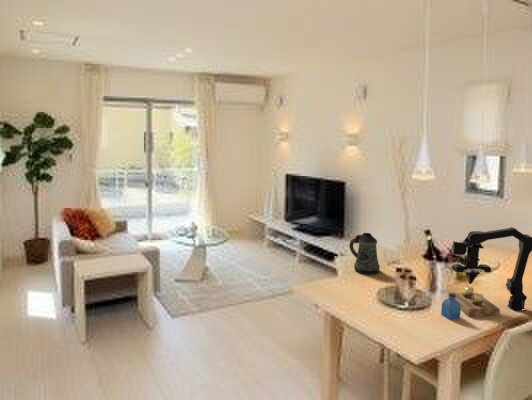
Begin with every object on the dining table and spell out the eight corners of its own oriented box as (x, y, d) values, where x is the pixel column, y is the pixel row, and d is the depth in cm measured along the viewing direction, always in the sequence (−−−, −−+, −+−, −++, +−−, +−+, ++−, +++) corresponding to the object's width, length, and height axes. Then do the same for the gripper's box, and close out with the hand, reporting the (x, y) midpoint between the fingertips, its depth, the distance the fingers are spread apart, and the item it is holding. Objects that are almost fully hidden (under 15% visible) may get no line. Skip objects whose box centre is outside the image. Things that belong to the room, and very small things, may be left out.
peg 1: (470, 293, 236) (471, 286, 235) (474, 296, 232) (474, 289, 231) (463, 293, 235) (463, 286, 235) (466, 296, 231) (467, 289, 231)
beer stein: (382, 275, 279) (384, 237, 275) (352, 274, 279) (354, 236, 275) (375, 266, 295) (377, 231, 291) (347, 266, 295) (348, 230, 291)
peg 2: (480, 300, 226) (480, 293, 225) (484, 303, 222) (485, 296, 221) (472, 300, 226) (473, 293, 225) (476, 303, 222) (477, 296, 221)
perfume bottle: (449, 319, 214) (451, 296, 212) (440, 314, 220) (442, 292, 218) (459, 318, 216) (461, 295, 214) (451, 313, 222) (453, 291, 220)
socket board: (476, 299, 241) (477, 292, 240) (499, 316, 219) (500, 309, 218) (448, 299, 240) (448, 292, 239) (467, 316, 218) (468, 309, 218)
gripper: (481, 251, 238) (479, 278, 241) (448, 251, 238) (446, 278, 240) (493, 257, 227) (490, 285, 230) (458, 257, 227) (455, 285, 229)
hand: (469, 283), depth 232 cm, fingers closed
